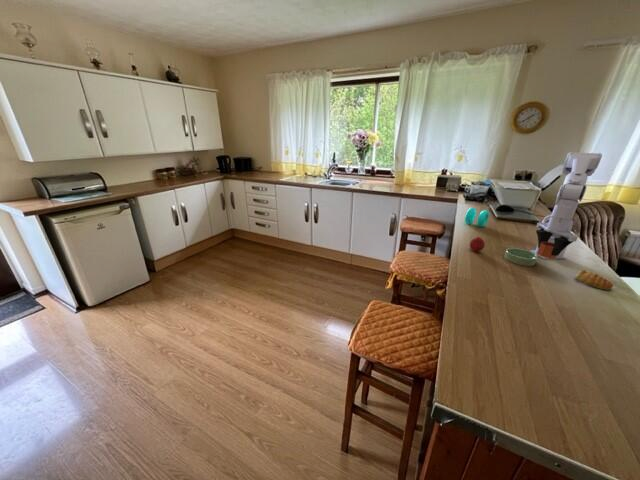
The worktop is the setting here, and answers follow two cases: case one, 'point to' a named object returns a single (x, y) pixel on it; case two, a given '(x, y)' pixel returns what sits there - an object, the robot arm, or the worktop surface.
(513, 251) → the big bowl
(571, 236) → the robot arm
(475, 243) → the onion
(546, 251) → the small bowl
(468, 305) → the worktop surface
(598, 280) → the pastry
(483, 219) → the pair of cyan ovals
